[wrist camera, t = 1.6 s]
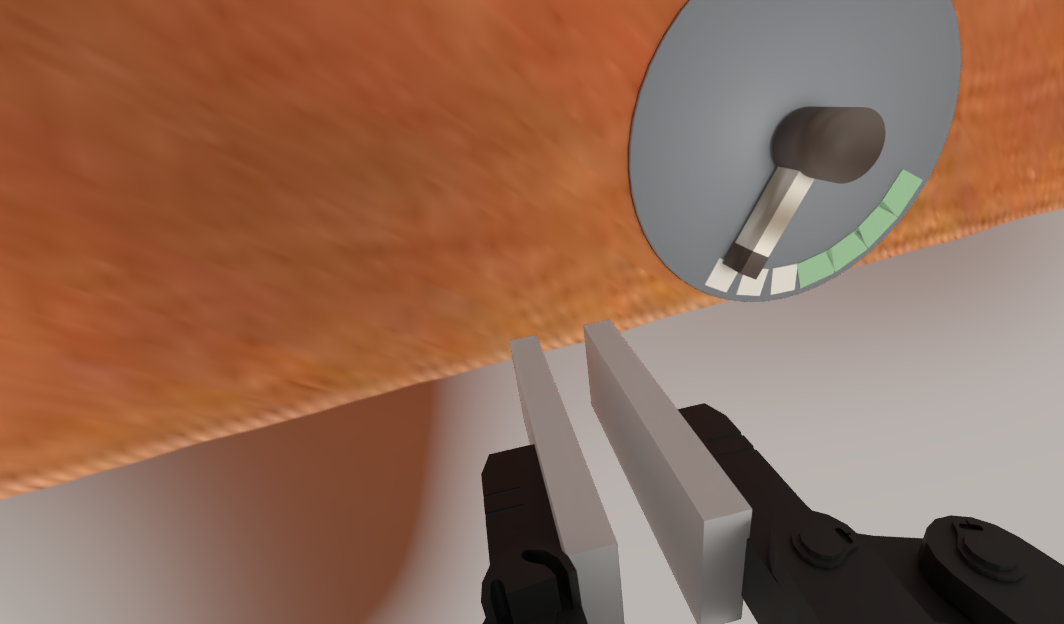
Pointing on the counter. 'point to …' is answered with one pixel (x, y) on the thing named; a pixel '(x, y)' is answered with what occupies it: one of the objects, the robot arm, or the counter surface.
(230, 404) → the counter surface
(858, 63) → the dial
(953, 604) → the robot arm
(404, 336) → the counter surface
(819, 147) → the needle
